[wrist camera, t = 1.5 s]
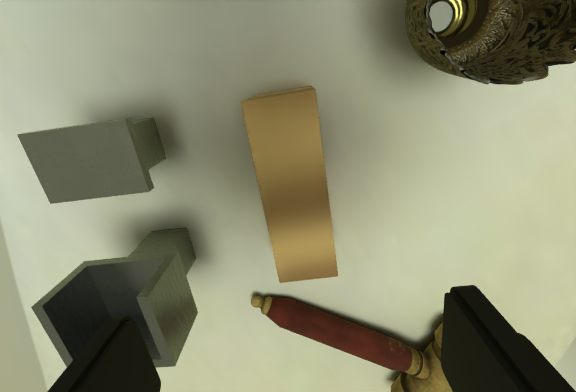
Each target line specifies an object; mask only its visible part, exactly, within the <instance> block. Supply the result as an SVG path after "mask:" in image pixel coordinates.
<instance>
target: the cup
mask: <svg viewBox="0 0 576 392" xmlns="http://www.w3.org/2000/svg"><path fill="white" fill-rule="evenodd" d="M439 1H446V2H448V3H450V4H451V5H452V7H453V10H454V16H453V20H452V22H451V24H450V25H449V26H448V27H447V28H446V29H445V30H443V31H440V32H435V31H434V30H433V28H432V21H431V18H430V15H429V13H430V8H431V6H432V5H433V4H435V3H436V2H439ZM405 20H406V29H407V34H408V37H409V40H410V42H411V44H412V46H413V48H414V49H415V51H416V52H417V54H418V55H419V56H420V57H421V58H422V59H423V60H424V61H425V62H427V63H428V64H429V65H431V66H433V67H435V68H437V69H438V70H441V71H443V72H446V73H449V74H452V75H456V76H460V77H464V78H468V79H471V80H475V81H478V82H481V83H484V84H489V83H493V84H510V85H516V84H522V83H523V81H533V80H539V79H543V78H546V77H547V76H548V66H552V65H559V64H570V63H574V62H575V61H576V51H575V50H574V49H576V0H407V3H406V11H405Z"/></svg>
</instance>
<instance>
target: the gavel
mask: <svg viewBox="0 0 576 392" xmlns="http://www.w3.org/2000/svg"><path fill="white" fill-rule="evenodd" d="M251 305H252V306H253V307H260V308H261V312H262V314H264V315H266V316H267V317H269V318H270V319H271V320H272V321H273V322H274V323H276V324H277V325H278V326H279V327H281V328H284V329H287V330H289V331H292V332H294V333H297V334H300V335H302V336H305V337H308V338H310V339H313V340H315V341H318V342H321V343H323V344H326V345H328V346H331V347H334V348H336V349H339V350H341V351H344V352H347V353H349V354H352V355H354V356H357V357H360V358H362V359H365V360H368V361H370V362H373V363H375V364H378V365H381V366H383V367H386V368H388V369H391V370H397V371H402V373H401V374H400V375H399V376H398V378H397V379H396V380H395V381H394V383H393V384H392V386H391V392H453V391H452V389H451V387H450V385H449V383H448V381H447V379H446V377H445V375H444V373H443V370H442V367H441V362H440V357H441V343H442V328H443V322H442V323H441V324H440V326H439V327H438V328H437V329H436V331H435V339H434V340H433V341H432V342H431V343H430V344H429V345H428V347H427V348H426V349H425V350H424V352H421V351H418V350H415V349H412V348H410V347H408V346H406V345H404V344H403V343H401V342H399V341H398V340H396V339H393V338H390V337H388V336H385V335H383V334H380V333H378V332H375V331H372V330H370V329H367V328H365V327H362V326H360V325H357V324H354V323H352V322H349V321H347V320H344V319H342V318H339V317H337V316H334V315H331V314H329V313H326V312H324V311H321V310H319V309H316V308H313V307H311V306H308V305H306V304H303V303H301V302H298V301H295V300H293V299H290V298H274V297H270V296H268V297H266V298H265V299H262V298H261V297H260V296H258V295H255V296H253V298H252V299H251Z"/></svg>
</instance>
